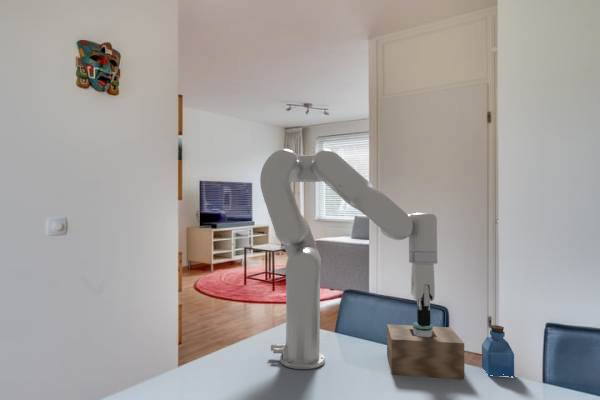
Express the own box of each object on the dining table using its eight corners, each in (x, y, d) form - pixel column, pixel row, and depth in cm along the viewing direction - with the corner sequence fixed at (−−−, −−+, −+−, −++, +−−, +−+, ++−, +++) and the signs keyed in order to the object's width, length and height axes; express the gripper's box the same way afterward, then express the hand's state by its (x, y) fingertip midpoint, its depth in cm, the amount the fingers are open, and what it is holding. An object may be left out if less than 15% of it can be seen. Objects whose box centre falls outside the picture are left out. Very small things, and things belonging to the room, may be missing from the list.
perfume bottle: (514, 378, 99) (513, 331, 99) (488, 376, 100) (487, 329, 100) (506, 369, 105) (506, 324, 105) (481, 367, 106) (481, 322, 106)
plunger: (414, 359, 104) (414, 326, 104) (411, 352, 109) (411, 321, 109) (434, 361, 103) (434, 327, 103) (430, 354, 108) (430, 322, 108)
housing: (391, 374, 100) (391, 339, 100) (387, 355, 114) (387, 324, 114) (464, 379, 98) (464, 343, 98) (450, 358, 112) (450, 327, 112)
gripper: (405, 254, 115) (406, 316, 114) (413, 260, 100) (414, 332, 99) (431, 254, 114) (432, 317, 113) (443, 260, 99) (444, 333, 98)
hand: (423, 324), depth 106 cm, fingers closed
